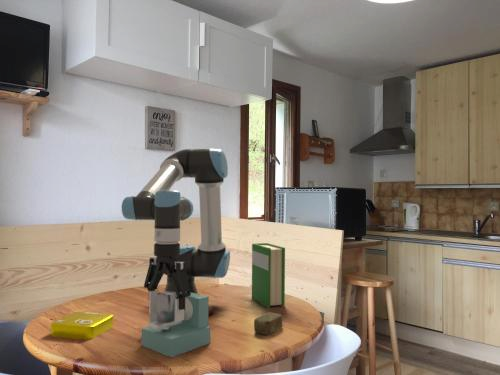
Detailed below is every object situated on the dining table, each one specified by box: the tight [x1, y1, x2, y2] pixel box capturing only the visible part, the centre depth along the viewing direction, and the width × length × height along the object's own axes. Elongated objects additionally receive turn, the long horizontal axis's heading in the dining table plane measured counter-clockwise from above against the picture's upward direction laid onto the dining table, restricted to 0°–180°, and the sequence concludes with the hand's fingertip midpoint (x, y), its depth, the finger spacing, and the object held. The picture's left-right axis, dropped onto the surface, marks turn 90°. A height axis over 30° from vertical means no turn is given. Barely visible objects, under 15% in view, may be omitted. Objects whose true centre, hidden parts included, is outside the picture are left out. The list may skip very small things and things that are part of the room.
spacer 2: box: [157, 290, 175, 323], centre depth 122 cm, size 5×5×8 cm
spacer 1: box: [149, 312, 157, 322], centre depth 137 cm, size 5×5×8 cm
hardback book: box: [251, 242, 286, 309], centre depth 177 cm, size 18×7×24 cm, turn 22°
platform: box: [148, 316, 182, 332], centre depth 122 cm, size 9×4×3 cm, turn 140°
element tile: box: [50, 311, 114, 340], centre depth 137 cm, size 15×15×5 cm
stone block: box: [253, 311, 283, 336], centre depth 139 cm, size 6×12×5 cm, turn 151°
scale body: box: [141, 292, 211, 358], centre depth 125 cm, size 15×14×14 cm
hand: (166, 316), depth 122 cm, fingers open, 11 cm apart
